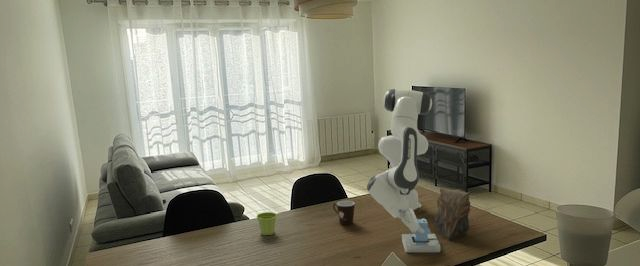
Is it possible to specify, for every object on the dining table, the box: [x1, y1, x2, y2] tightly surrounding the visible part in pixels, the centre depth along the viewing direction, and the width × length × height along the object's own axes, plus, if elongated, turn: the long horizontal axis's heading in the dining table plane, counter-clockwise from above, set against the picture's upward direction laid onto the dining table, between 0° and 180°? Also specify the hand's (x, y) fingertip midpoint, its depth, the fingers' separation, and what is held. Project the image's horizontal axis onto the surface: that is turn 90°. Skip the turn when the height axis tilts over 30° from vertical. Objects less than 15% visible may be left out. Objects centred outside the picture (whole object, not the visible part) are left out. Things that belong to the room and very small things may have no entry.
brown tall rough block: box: [434, 188, 471, 242], centre depth 197 cm, size 13×13×20 cm
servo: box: [410, 218, 432, 241], centre depth 185 cm, size 4×8×9 cm, turn 86°
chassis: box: [401, 233, 441, 253], centre depth 186 cm, size 12×14×3 cm
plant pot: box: [256, 211, 278, 236], centre depth 206 cm, size 9×9×9 cm
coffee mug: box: [332, 200, 356, 226], centre depth 216 cm, size 12×9×10 cm
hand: (422, 229), depth 185 cm, fingers closed on servo, 4 cm apart
